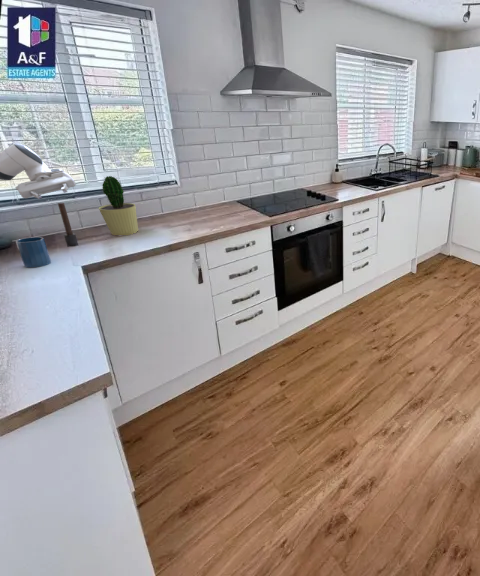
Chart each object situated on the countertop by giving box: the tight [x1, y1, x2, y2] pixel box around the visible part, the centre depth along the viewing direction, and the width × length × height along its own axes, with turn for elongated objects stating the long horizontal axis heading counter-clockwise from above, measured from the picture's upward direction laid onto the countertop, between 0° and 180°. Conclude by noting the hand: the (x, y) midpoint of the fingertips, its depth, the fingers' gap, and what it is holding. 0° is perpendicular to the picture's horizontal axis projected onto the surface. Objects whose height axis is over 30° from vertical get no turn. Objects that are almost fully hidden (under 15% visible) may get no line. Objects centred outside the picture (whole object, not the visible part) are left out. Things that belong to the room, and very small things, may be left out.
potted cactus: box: [98, 175, 139, 236], centre depth 184 cm, size 15×15×30 cm
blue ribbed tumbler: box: [15, 236, 52, 268], centre depth 145 cm, size 8×8×10 cm
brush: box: [57, 202, 79, 248], centre depth 165 cm, size 4×4×20 cm
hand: (52, 194), depth 163 cm, fingers open, 8 cm apart
